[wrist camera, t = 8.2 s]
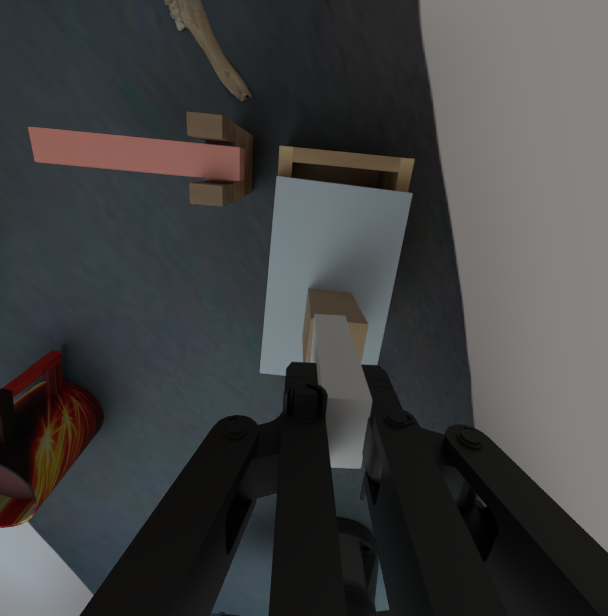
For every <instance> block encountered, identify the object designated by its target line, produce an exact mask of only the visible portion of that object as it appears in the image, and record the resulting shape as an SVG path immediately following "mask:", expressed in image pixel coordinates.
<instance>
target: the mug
mask: <svg viewBox="0 0 608 616" xmlns="http://www.w3.org/2000/svg"><path fill="white" fill-rule="evenodd" d="M61 359H62V353H61V352H59V351H55V350H52V351H51V352H50V353H48V354H47V355H46V356H44V357H43V358H41V359H40V360H39V361H37V362H36V363H35V364H33V365H32V366H31V367H29V369H28V370H26V371H25V372H24V373H22V374H21V375H19V376H18V377H17V378H15V379H14V380H13V381H11V382H10V383H9V384H7V385H6V386H4V387H3V388H2V389H0V527H1V528H4V527H13V526H17V525H21V524H22V523H25V522H27V521H28V520H29V519H30V518H32V517H33V515H34V514H35V513H36V511H37V510H38V509H39V507H40V506H41V505H42V504H43V502H44V501H45V500H46V498H47V497H48V496H49V495H50V493H51V492H52V491H53V489H54V488H55V487H56V485H57V484H58V483H59V482H60V480H61V479H62V478H63V476H64V475H65V474H66V472H67V471H68V470H69V469H70V467H71V466H72V465H73V463H74V462H75V461H76V460H77V458H78V457H79V456H80V454H81V453H82V452H83V450H84V449H85V448H86V447H87V445H88V444H89V443H90V441H91V440H92V439H93V437H94V436H95V435H96V434H97V432H98V431H99V430H100V428H101V427H102V424H103V419H104V415H103V410H102V408H101V406H100V404H99V402H98V401H97V399H96V398H95V397H94V396H93V395H92V394H91V393H90V392H88V391H87V390H86V389H84V388H82V387H81V386H79V385H77V384H74V383H71V382H68V381H63V375H62V360H61ZM44 373H45V381H43V382H40V383H38V384H37V385H35V386H34V387H32V388H31V389H30V390H29V391H27V392H26V393H25V394H24V395H22V396H21V397H20V398H19V399H18V400H16V401H15V402H14V403H13V398H14V397H15V396H16V395H18V394H19V393H20V392H21V391H23V390H24V389H25V388H26V387H28V386H29V385H30V384H31V383H33V382H34V381H35V380H36V379H38V378H39V377H40V376H41V375H43V374H44Z"/></svg>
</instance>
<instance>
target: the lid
mask: <svg viewBox="0 0 608 616" xmlns="http://www.w3.org/2000/svg"><path fill="white" fill-rule="evenodd" d="M412 195H413V193H407V192H399V191H391V190H383V189H375V188H367V187H359V186H351V185H344V184H336V183H328V182H320V181H312V180H304V179H296V178H288V177H281V176H277V178H276V190H275V201H274V213H273V224H272V236H271V247H270V259H269V270H268V282H267V294H266V305H265V317H264V328H263V340H262V351H261V363H260V373H264V374H274V375H284V376H286V368H287V367H288V366H289V364H290V363H291V362H309V363H310V359H311V347H312V336H313V324H314V314H324V315H341V316H346V320H347V323H348V326H349V329H350V332H351V335H352V338H353V341H354V344H355V348H356V351H357V354H358V357H359V360H360V363H361V364H363V365H377V364H378V359H379V354H380V349H381V345H382V340H383V335H384V330H385V325H386V320H387V316H388V311H389V306H390V301H391V296H392V291H393V287H394V282H395V277H396V272H397V267H398V262H399V258H400V253H401V248H402V243H403V238H404V233H405V229H406V224H407V219H408V214H409V209H410V204H411V200H412Z"/></svg>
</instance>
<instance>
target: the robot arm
mask: <svg viewBox="0 0 608 616" xmlns="http://www.w3.org/2000/svg"><path fill="white" fill-rule="evenodd" d="M362 459H364V463H365V474H364V479H363V485H362V490H361V500H364V498H365V493H366V496H367V501H368V506H369V511H370V516H371V521H372V525H373V530H374V535H375V539H374V537H373V536H372V534H371V533H370V532H369V531H368V530H367V529H366V528H365V527H363V526H362V525H360V524H358V523H356V522H353V521H350V520H346V519H340V518H336V509H335V500H334V491H333V481H332V472H331V468H354V469H361V465H362ZM275 493H277V503H276V518H275V532H274V547H273V561H272V575H271V590H270V604H269V616H377V615H376V608H375V595H376V584H377V574H378V563H379V560H380V565H381V570H382V574H383V579H384V584H385V589H386V594H387V599H388V604H389V609H390V613H391V616H608V553H607V552H606V551H605V550H604V549H603V548H602V547H601V546H600V545H599V544H598V543H597V542H596V541H595V540H594V539H593V538H592V537H591V536H590V535H589V534H588V533H587V532H586V531H585V530H584V529H582V527H581V526H579V525H578V524H577V523H576V522H575V521H574V520H573V519H572V518H571V517H570V516H569V515H568V514H567V513H566V512H565V511H564V510H563V509H562V508H561V507H560V506H559V505H558V504H557V503H556V502H555V501H554V500H553V499H552V498H551V497H550V496H549V495H547V493H546V492H544V491H543V490H542V489H541V488H540V487H539V486H538V485H537V484H536V483H535V482H534V481H533V480H532V479H531V478H530V477H529V476H528V475H527V474H526V473H525V472H524V471H523V470H522V469H521V468H520V467H519V466H518V465H517V464H516V463H515V462H514V461H512V459H510V458H509V457H508V456H507V455H506V454H505V453H504V452H503V451H502V450H501V449H500V448H499V447H498V446H497V445H496V444H495V443H494V442H493V441H492V440H491V439H490V438H489V437H487V436H486V435H485V434H484V433H482V432H481V431H479V430H477V429H475V428H473V427H470V426H466V425H452V426H449V427H448V429H447V430H446V432H445V435H444V434H441V433H437V432H433V431H430V430H427V429H424V428H421V427H420V426H419V424H418V422H417V421H416V419H415V418H414V417H413V416H412V415H411V414H410V413H408V412H407V411H404V410H403V409H402V407H401V404H400V402H399V400H398V397H397V395H396V393H395V391H394V389H393V386H392V384H391V382H390V379H389V377H388V375H387V372H385V371H384V370H383V369H382V368H381V367H380V366H379V365H363V364H361V363H360V360H359V357H358V354H357V351H356V348H355V344H354V341H353V338H352V335H351V332H350V329H349V326H348V323H347V320H346V316H341V315H324V314H314V324H313V336H312V347H311V359H310V363H309V362H291V363H290V364H289V366H288V367H287V368H286V379H285V391H284V398H283V411H282V413H281V415H280V416H279V417H278V418H277V419H275V420H273V421H271V422H269V423H265V424H260V425H257V423H256V422H255V421H254V420H253V419H252V418H249V417H246V416H241V415H234V416H228V417H226V418H223V419H221V420H219V421H218V422H217V423H216V424H215V425H214V426H213V428H212V429H211V431H210V432H209V433H208V435H207V436H206V438H205V439H204V440H203V442H202V443H201V445H200V446H199V448H198V449H197V450H196V452H195V453H194V455H193V456H192V457H191V459H190V460H189V462H188V463H187V464H186V466H185V467H184V469H183V470H182V472H181V473H180V474H179V476H178V477H177V479H176V480H175V481H174V483H173V484H172V486H171V487H170V489H169V490H168V491H167V493H166V494H165V496H164V497H163V498H162V500H161V501H160V503H159V504H158V505H157V507H156V508H155V510H154V511H153V513H152V514H151V515H150V517H149V518H148V520H147V521H146V522H145V524H144V525H143V527H142V528H141V529H140V531H139V532H138V534H137V535H136V537H135V538H134V539H133V541H132V542H131V544H130V545H129V546H128V548H127V549H126V551H125V552H124V554H123V555H122V556H121V558H120V559H119V561H118V562H117V563H116V565H115V566H114V568H113V569H112V570H111V572H110V573H109V575H108V576H107V578H106V579H105V580H104V582H103V583H102V585H101V586H100V587H99V589H98V590H97V592H96V593H95V594H94V596H93V597H92V599H91V600H90V602H89V603H88V604H87V606H86V607H85V609H84V610H83V612H82V613H81V614H80V616H238V615H231V614H225V612H219V613H218V614H214V613H211V612H212V609H213V607H214V604H215V602H216V600H217V597H218V595H219V592H220V590H221V587H222V585H223V582H224V580H225V577H226V575H227V572H228V570H229V568H230V565H231V563H232V560H233V558H234V555H235V553H236V550H237V548H238V545H239V543H240V541H241V538H242V536H243V533H244V531H245V528H246V526H247V523H248V521H249V518H250V516H251V514H252V511H253V509H254V506H255V504H256V499H257V498H260V497H264V496H268V495H271V494H275ZM478 497H480V498H481V499H482V500H483V502H484V503H485V504H486V505H487V507H484V506H483V505H482V504H481V502H480V501H479V500H478ZM375 540H376V542H375ZM376 545H377V547H376ZM377 550H378V552H377ZM378 555H379V560H378Z"/></svg>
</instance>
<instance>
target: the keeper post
mask: <svg viewBox="0 0 608 616" xmlns="http://www.w3.org/2000/svg"><path fill="white" fill-rule="evenodd" d="M187 135H188V136H191V137H195V138H198V139H202V140H205V141H206V144H210V145H221V146H231V147H240V148H243V149H245V164H244V180H242V181H233V180H222V179H212V178H206V180H207V181H201V182H194V183H189V187H190V204H200V205H211V206H222V207H223V206H225V205H227V204H229V203H231V202H233V201H235V200H237V199H239V198H241V197H243V196H245V195H247V194H249V193H251V192H252V164H253V135H251V134H250V133H248V132H247V131H245V130H244V129H242V128H241V127H239V126H238V125H236V124H235V123H233V122H232V121H230V120H229V119H227V118H226V117H224V116H223V115H215V114H205V113H195V112H187Z"/></svg>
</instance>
